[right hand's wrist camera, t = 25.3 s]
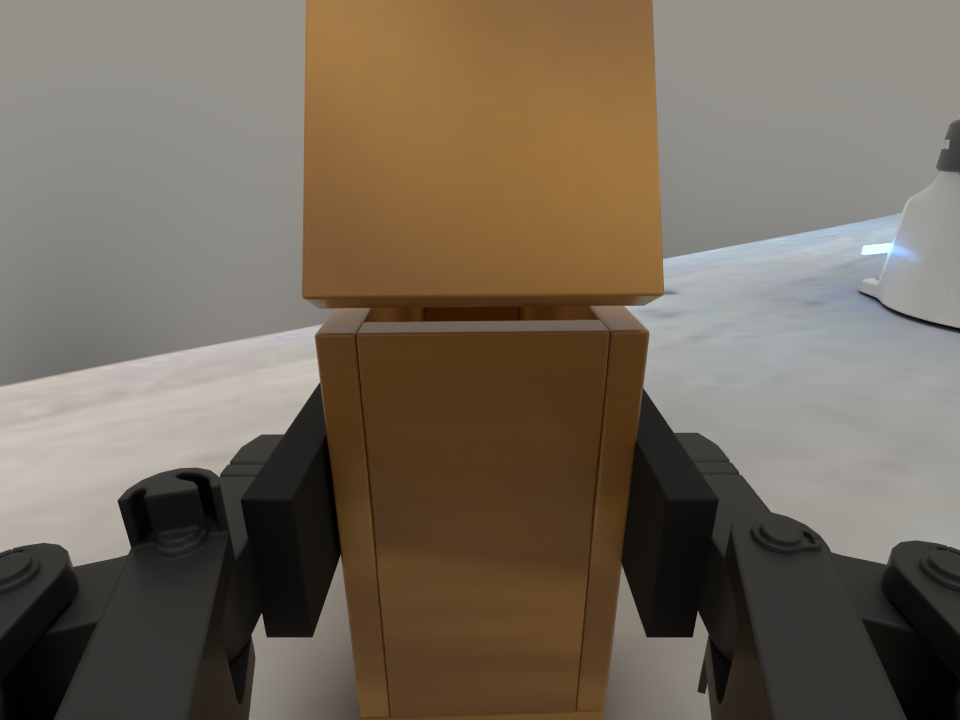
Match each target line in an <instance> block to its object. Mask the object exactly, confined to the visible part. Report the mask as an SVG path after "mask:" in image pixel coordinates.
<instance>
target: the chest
mask: <svg viewBox="0 0 960 720" xmlns="http://www.w3.org/2000/svg"><path fill="white" fill-rule="evenodd" d="M315 342H316V350H317V358H318V367H319V375H320V383H321V392H322V400H323V408H324V417H325V425H326V433H327V442H328V450H329V458H330V467H331V475H332V484H333V492H334V500H335V509H336V517H337V525H338V534H339V542H340V550H341V559H342V567H343V575H344V584H345V592H346V600H347V609H348V617H349V625H350V634H351V642H352V650H353V659H354V667H355V675H356V684H357V692H358V700H359V709H360V716H361V720H603V718H604V708H605V701H606V693H607V685H608V676H609V668H610V660H611V651H612V643H613V634H614V626H615V618H616V609H617V601H618V593H619V584H620V576H621V568H622V563H621V561H622V553H623V545H624V536H625V528H626V520H627V511H628V503H629V495H630V487H631V478H632V470H633V462H634V453H635V445H636V440H637V434H638V426H639V417H640V409H641V400H642V392H643V384H644V375H645V367H646V359H647V350H648V342H649V331H648V330H647V329H646V328H645V327H644V326H643V325H642V324H641V323H640V322H639V321H638V320H637V319H636V318H635V317H634V316H633V315H632V314H631V313H630V312H629V311H628V310H627V309H626V308H625V307H624V306H537V307H428V308H336V309H335V310H334V312H333V313H332V314H331V315H330V317H329V318H328V319H327V320H326V322H325V323H324V324H323V326H322V327H321V328H320V329H319V331H318V332H317V333H316V335H315Z"/></svg>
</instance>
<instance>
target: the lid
mask: <svg viewBox="0 0 960 720" xmlns="http://www.w3.org/2000/svg"><path fill="white" fill-rule="evenodd" d="M663 294H664V278H663V254H662V230H661V204H660V180H659V155H658V131H657V106H656V81H655V57H654V32H653V7H652V0H306V28H305V111H304V194H303V277H302V296H303V298H304V299H305V300H307V301H308V302H310V303H311V304H313V305H315V306H316V307H318V308H428V307H537V306H644V305H646V304H648V303H650V302H652V301H653V300H655V299H657V298H659V297H661V296H663Z"/></svg>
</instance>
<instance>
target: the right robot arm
mask: <svg viewBox="0 0 960 720" xmlns="http://www.w3.org/2000/svg"><path fill="white" fill-rule="evenodd" d="M220 475H221V476H220V477H218V476H217V475H216V474H215V473H213V472H212V471H211V470H206V469H201V468H180V469H175V470H171V471H166V472H162V473H159V474H156V475H154V476H151V477H149V478H146V479H144V480H142V481H140V482H139V483H137V484H135V485H134V486H132V487H131V488H129V489H128V490H126V492H125V493H124V494H123V495H122V496H121V497H120V498H119V499H118V504H119V507H120V511H121V514H122V518H123V521H124V524H125V528H126V531H127V535H128V538H129V542H130V545H131V550H130V552H129V554H128V555H126V556H122V557H119V558H114V559H110V560H105V561H100V562H95V563H91V564H86V565H81V566H76V567H73V565H72V562H71V560H70V557H69V554H68V551H67V550H65V549H64V548H63V547H61V546H60V545H56V544H47V543H41V544H34V545H27V546H21V547H17V548H13V549H12V550H11V549H10V550H7V551H4V552H2V553H0V720H249V711H250V702H251V693H252V684H253V675H254V666H255V652H254V646H253V641H252V636H251V634H252V632H253V630H254V628H255V626H256V624H257V622H258V619H259V617H260V615H261V613H262V615H263V620H264V625H265V630H266V636H267V637H313V634H314V631H315V628H316V626H317V623H318V620H319V617H320V614H321V611H322V608H323V605H324V602H325V599H326V596H327V593H328V590H329V587H330V584H331V581H332V579H333V576H334V573H335V570H336V567H337V564H338V561H339V558H340V555H341V550H340V542H339V534H338V525H337V517H336V509H335V500H334V492H333V484H332V475H331V467H330V458H329V450H328V442H327V433H326V425H325V417H324V408H323V400H322V392H321V383H319V385H318V386H317V387H316V389H315V390H314V392H313V393H312V395H311V396H310V398H309V399H308V401H307V402H306V404H305V405H304V407H303V408H302V410H301V411H300V413H299V414H298V415H297V417H296V418H295V420H294V421H293V423H292V424H291V426H290V427H289V429H288V430H287V432H286V433H285V435H260V436H259V437H257V438H256V439H254V440H252V441H251V442H249V443H248V444H246V445H245V446H243V447H242V448H241V449H240V450H239V451H238V453H237V454H236V455H235V456H234V458H233V459H232V460H231V461H230V465H227V467H226V468H225V469H224V470H223V472H222V473H221V474H220ZM621 563H622V566H623V569H624V572H625V575H626V578H627V581H628V584H629V586H630V589H631V592H632V595H633V598H634V601H635V604H636V607H637V610H638V613H639V616H640V619H641V622H642V625H643V628H644V630H645V633H646V636H647V637H693V632H694V627H695V622H696V617H697V611H698V612H699V614H700V616H701V618H702V620H703V622H704V625H705V627H706V629H707V631H708V633H709V636H708V641H707V646H706V651H705V655H704V660H703V665H702V670H701V675H700V680H699V686H698V692H700V693H704V694H705V691H706V687H707V683H708V692H709V701H710V709H711V718H712V720H960V550H957V549H955V548H952V547H947V546H945V545H941V544H937V543H930V542H923V541H908V542H901V543H899V544H898V545H897V546H895V547H894V548H893V549H892V551H891V554H890V557H889V560H888V563H887V565H885V564H881V563H876V562H871V561H866V560H861V559H857V558H852V557H847V556H842V555H839V554H835V553H831V551H830V549H829V547H828V546H827V544H826V543H825V542H824V540H823V539H822V538H821V536H820V535H819V534H817V533H816V532H815V531H813V530H812V529H810V528H809V527H808V526H806V525H805V524H803V523H800V522H798V521H796V520H794V519H792V518H790V517H787V516H783V515H779V514H775V513H771V511H770V510H769V509H768V508H767V506H766V505H765V504H764V503H763V501H762V500H761V499H760V498H759V496H758V495H757V494H756V493H755V491H754V490H753V489H752V488H751V486H750V485H749V484H748V483H747V481H746V480H745V479H744V478H743V476H742V475H739V471H738V470H737V469H736V468H735V466H734V465H733V464H732V463H730V462H729V459H728V458H727V456H726V455H725V454H724V453H723V451H722V450H721V449H720V448H719V446H718V445H716V444H715V443H713V442H712V441H710V440H708V439H707V438H705V437H704V436H702V435H700V434H699V433H673V431H672V430H671V428H670V427H669V425H668V424H667V422H666V421H665V420H664V418H663V417H662V415H661V414H660V412H659V411H658V409H657V408H656V406H655V405H654V403H653V402H652V400H651V399H650V397H649V396H648V395H647V393H646V392H645V390H644V389H643V392H642V400H641V409H640V417H639V426H638V434H637V440H636V445H635V453H634V462H633V470H632V478H631V487H630V495H629V503H628V511H627V520H626V528H625V536H624V545H623V553H622V561H621Z"/></svg>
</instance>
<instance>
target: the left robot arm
mask: <svg viewBox="0 0 960 720" xmlns="http://www.w3.org/2000/svg"><path fill="white" fill-rule="evenodd" d="M940 149H942V150H941V153H940V157H939V160H938V163H937V167H936V168H937V169H938V170H939V171H941V173H940V174H939V176H938V177H937V178H936V179H935V180H934V181H933V183H932V184H931V185H930V186H928V187H927V188H926V189H924V190H923V191H921V192H919V193H917V194H916V195H914V196H913V197H911V198H910V199H909V200H908V201H907V203H906V205H905V207H904V210H903V213H902V215H901V218H900V221H899V224H898V226H897V229H896V232H895V235H894V238H893V240H892V243H889V244H879V245H869V246H864V247H863V250H862V254H864V255H867V254H876V253H885V252H888V255H887V258H886V260H885V263H884V266H883V269H882V272H881V275H880V277H878V278H868V279H863V280H862V282H861V285H860V287H859V291H861V292H863V293H866V294H868V295H871V296H874V297H876V298H878V299H879V300H880V301H881V302H882V303H883V304H884V305H886V306H887V307H889V308H891V309H894V310H896V311H898V312H901V313H904V314H907V315H910V316H913V317H916V318H920V319H923V320H927V321H931V322H935V323H939V324H943V325H948V326H952V327H957V328H960V115H959V119H958V120H957V121H954V122H952V123H951V124H950V126H949V129H948V132H947V134H946V137H945V140H943V141H942V144H941V148H940Z"/></svg>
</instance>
